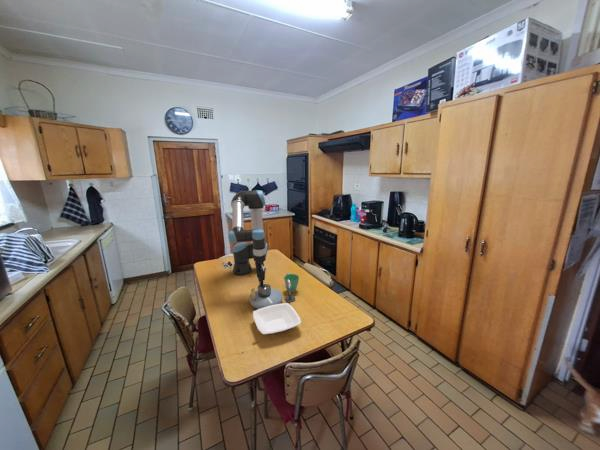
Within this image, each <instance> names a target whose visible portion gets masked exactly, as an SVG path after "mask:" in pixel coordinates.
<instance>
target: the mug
mask: <svg viewBox="0 0 600 450" xmlns="http://www.w3.org/2000/svg"><path fill="white" fill-rule="evenodd" d="M283 279H284V284H285V286H286V280H288V279H289V280H290V282H291V292H292V293H295V292H296V290H297V287H298V284H299V280H300V278H299V275H297V274H296V273H295V274H293V273H290V272H286V275H285V276H284V277H283ZM286 289H287V291H288V292H289V288H288V287H287V286H286Z"/></svg>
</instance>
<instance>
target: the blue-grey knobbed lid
mask: <svg viewBox="0 0 600 450" xmlns="http://www.w3.org/2000/svg"><path fill="white" fill-rule="evenodd" d="M250 293H251V294H250V295H249V303H250V306H251V307H252V308H255V309H256V310H258V309H260V308H264V307H267V306H271V305H276V304H282V303H283V293H282V292H281V291H280V290H278V289H275V288H271V295H270V296H269V297H266V298H261V297H259V296H258V289H257V290H256V288H253V287H252V288H251V289H250Z"/></svg>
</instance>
